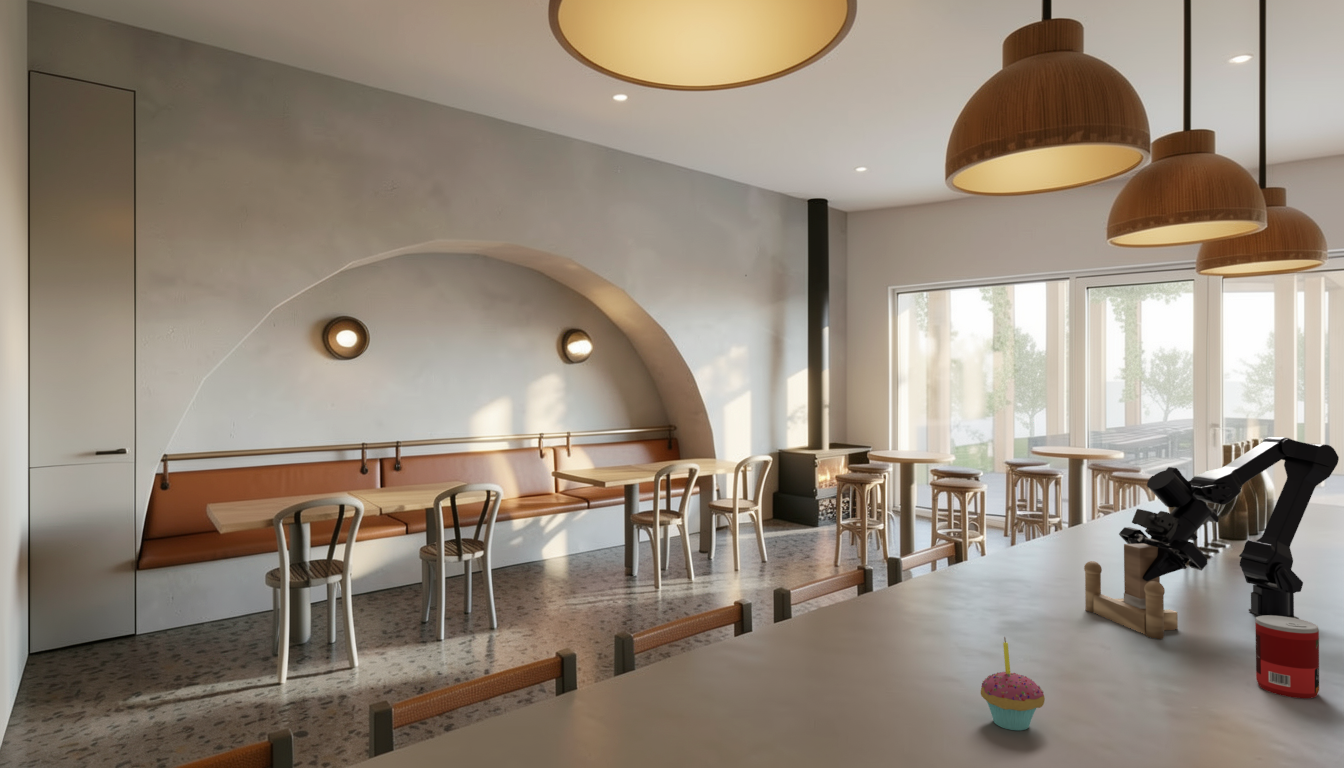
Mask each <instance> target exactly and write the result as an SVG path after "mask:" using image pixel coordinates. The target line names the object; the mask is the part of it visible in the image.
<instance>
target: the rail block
mask: <svg viewBox="0 0 1344 768" xmlns="http://www.w3.org/2000/svg"><path fill="white" fill-rule="evenodd" d="M1157 555H1158V547H1155V546H1151V545H1147V544H1144V543H1141V544H1127V543H1124V544H1123V567H1124V568H1123V569H1124V571H1123V573H1124V575H1123V576H1124V581H1123V582H1124V588H1123V589H1124V593H1123V598H1124V603H1126V604H1129V605H1131V606H1134V607H1137V608H1139V609H1142V610H1145V611H1146V593H1145V590H1144V587H1145V585H1146V584H1147V583H1148V582H1150V581H1156V582H1159V583H1160V584H1161V582H1160V581H1161V580H1160V578H1161V576H1160V577H1157V578H1154V579H1152V580H1149V581H1145V580H1144V579H1143V576H1144V574H1145V572H1146V571H1147V570H1148V568H1149V567H1150V565H1151V564H1152V563H1153V561H1154V560H1155V559H1156V557H1157Z"/></svg>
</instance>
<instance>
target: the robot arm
mask: <svg viewBox="0 0 1344 768" xmlns="http://www.w3.org/2000/svg"><path fill="white" fill-rule="evenodd" d="M1281 460H1283V461H1284V463H1283V466H1284V470H1285V473H1286V480H1285V483H1284V485H1283V487H1282V489H1281V492H1280V495H1279V496H1278V499H1277V500H1276V503H1275V506H1274V508H1273V511H1272V512H1271V514H1270V517H1269V520H1268V521H1267V524H1266V525H1265V526H1266V527H1265V529H1264V531H1263V532H1262V535H1261V537H1260V538H1258V539H1256V540H1255V541H1254V540H1250V539H1248V540H1246V541H1245V543H1244V546H1243V550H1242V552H1241V553H1240V554H1239V555H1238V557H1240V560H1239V567H1240V568H1241V571H1242V573H1243V576H1244V578H1245V582H1246V583H1247V584H1252V591H1251V592H1250V608H1248V612H1249V613H1252V614H1254V615H1257V617H1258V616H1265V615H1272V616H1284V617H1291V618H1296V619H1300V618H1299V617H1297V616H1296V615H1295V604H1294V603H1295V601H1294V600H1295V597H1294V596H1295V595H1294V594H1296V593H1301V592H1302V589H1303V586H1304V585H1303V584H1304V582H1303V581H1302V579H1301V578H1300V577H1299V576H1298V575H1297V574H1296V573H1295V572H1294V571H1293V569H1292V568H1293V565H1294V558H1293V554H1292V550H1291V545H1292V543H1293V540H1294V538H1295V536H1296V533H1297V531H1298V528H1299V526H1300V524H1301V521H1302V519H1303V517H1304V514H1305V513H1306V510H1307V507H1308V505H1309V503H1310V501H1311V498H1312V496H1313V493H1314V491H1315V490H1316V487H1317V486H1319V485H1320V484H1321V483H1323V482H1324V481H1325V480H1328V478H1330V476H1331V475H1332V473H1333V471H1334V470H1335V469H1336V467H1337V466H1338V463H1339V455H1338V453H1337V452H1336V450H1335V449H1334V447H1333V446H1332V445H1328V444H1322V443H1306V442H1302V441H1297V440H1295V439H1291V438H1290V437H1280V436H1268V437H1266V438H1264V439H1263V440H1262V442H1261V443H1260V444H1257V445H1256V446H1255V447H1252V448H1251V449H1250V450H1248V451H1247V452H1245V453H1244V454H1242V455H1240V456H1239V457H1237V458H1235V459H1234V460H1232V461H1231V462H1229V463H1227V464H1226V465H1225V466H1222V467H1220V468H1215V469H1210V470H1206V471H1204V472H1201V473H1199V474H1197V475H1194V476H1193V477H1192V478H1191V479H1190V480H1187V478H1186V477H1185V476H1184V475H1183V474H1182V473H1181V471H1180V470H1179V469H1178V468H1177V467H1172V466H1168V467H1167V468H1166V469H1164V470H1163V471H1159V472H1157V473H1156V474H1154V475H1151V476H1150V477H1149V479H1148V480H1147V482H1146V484H1147V485H1146V488H1148V489H1149V490H1150V491H1151V492H1152V493H1153V494H1154V495H1155V497H1156V498H1158V499H1159V501H1160V502H1162V505H1164V506H1166V508H1173V509H1172V510H1171V512H1168V511H1162V510H1160V511H1159V512H1153V511H1149V510H1145V509H1141V508H1137V509H1136V511H1135V513H1134V515H1133V518H1132V521H1131V523H1132V524H1133V525H1138V526H1140V527H1142V528H1145V529H1144V532H1145V533H1146V534H1147V535H1148V536H1150V538H1149V537H1148V536H1147V535H1146V534H1145V533H1144V532H1143V531H1142V530H1141V529H1138V528H1134V527H1130V526H1129V527H1125V526H1124V527H1123V529H1121V530H1120V531H1119V533H1118V535H1119V537H1121V539H1122V540H1123V541H1124V542H1125V544H1141V543H1144V544H1147V545H1151V546H1155V547H1158V555H1157V557H1156V559H1155V560H1154V561H1153V563H1152V564H1151V565H1150V567H1149V568H1148V570H1147V571H1146V572H1145V574H1144V576H1143V579H1144V580H1145V581H1149V580H1152V579H1154V578H1157V577H1160V578H1161V577H1162V576H1165V575H1167V574H1170V573H1174V572H1176V571H1181V570H1187V568H1188V567H1190V568H1191V569H1195V570H1198V571H1203V570H1204V569H1205V568H1206V566H1207V565H1208V556H1207V555H1205V553H1203V551H1202V550H1201V549H1200V548H1199V547H1198V546H1197V545H1196V544H1195V543H1194V542H1196V540H1197V539H1198V538H1199V537H1198V536H1197V535H1196V532H1197V531H1198V530H1199V529H1200V528H1201V527H1202V525H1204V524H1205V522H1206V521H1209V522H1214V523H1219V522H1220V521H1219V518H1220V517H1219V515H1218V510H1217V509H1216V508H1212V507H1210V506H1209V505H1208V504H1207V503H1209V504H1216V505H1223V506H1224V505H1227V504H1229V503H1231V502H1232V501H1233V500H1234V499H1235V498H1236V497H1237V496H1239V494H1240V493H1241V492H1242V488H1243V486H1244V485H1246V483H1247V482H1249V481H1251V480H1252V479H1254V478H1255V477H1256V476H1258V475H1259V474H1262V473H1263V472H1264V471H1266V470H1267V469H1269V468H1270V467H1272V466H1274V465H1275V464H1276V463H1279V462H1280V461H1281ZM1192 541H1194V542H1192ZM1187 563H1188V565H1189V566H1188V567H1187Z"/></svg>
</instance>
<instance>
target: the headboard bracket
mask: <svg viewBox="0 0 1344 768" xmlns="http://www.w3.org/2000/svg"><path fill="white" fill-rule="evenodd" d="M1083 569H1084V570H1083V571H1084V576H1085V577H1084V579H1085V580H1084V581H1085V583H1084V584H1085V585H1084V590H1085V591H1084V593H1085V597H1084V598H1085V611H1086V612H1088V611H1089V612H1088V613H1093V612H1094V613H1093V614H1095V613H1096V614H1095V615H1097V614H1098V616H1099V617H1102V618H1104V617H1105V619H1107V620H1109V619H1110V621H1111V620H1112V622H1114V623H1117V624H1118V625H1120V626H1123V625H1124V627H1125V628H1128V629H1130V628H1131V630H1133V629H1134V630H1133V631H1135V630H1136V632H1138V633H1140V632H1141V634H1142V633H1143V634H1142V635H1145V636H1146V637H1147V636H1148V637H1147V638H1149V637H1151V638H1150V639H1153V638H1157V639H1156V640H1163V638H1164V639H1165V631H1173V630H1175V629H1177V630H1178V627H1179V626H1178V624H1179V620H1178V612H1177V611H1174V610H1172V609H1171V608H1170V609H1164V607H1165V604H1164V602H1165V601H1164V597H1165V596H1164V595H1165V591H1166V590H1165V587H1164V585H1163V584H1162V583H1161V582H1160V583H1159V582H1156V581H1150V582H1148V583H1147V584H1146V585H1145V587H1144V590H1145V593H1146V611H1145V610H1142V609H1139V608H1137V607H1134V606H1131V605H1129V604H1126V603H1124V597H1123V598H1121V597H1120V598H1113V597H1109V596H1108V595H1105V594H1102V590H1101V589H1102V584H1101V583H1102V571H1103V570H1102V569H1103V568H1102V566H1101V565H1100V563H1099V562H1098V561H1093V560H1089V561H1087V562H1086V563H1085V564H1084V567H1083ZM1177 630H1176V631H1177Z"/></svg>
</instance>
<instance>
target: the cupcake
mask: <svg viewBox="0 0 1344 768" xmlns="http://www.w3.org/2000/svg"><path fill="white" fill-rule="evenodd" d="M1003 641H1004V642H1003V643H1002V644H1003V645H1002V647H1003V657H1004V669H1005V671H1002V672H996V673H992V674H990V675H987V677H986V678H984V679H983V680H982V683H981V689H980V695H981V697H982V699H984V700H985V701H986V703H987V705H988V707H989V711H990V714H991V717H992V721H993V723H994V724H995V725H996V726H998V727H1001V728H1002V729H1006V730H1010V731H1025V730H1027V729H1029V727H1030V725H1031V722H1032V719H1033V717H1034V714H1035V712H1036V710H1037V709H1040V708H1042V707H1043V706H1044V704H1045V699H1046V698H1045V694H1044V690H1042V688H1041V686H1040V685H1038V684H1037V683H1036V682H1035V681H1034V680H1033V679H1031V678H1029V677H1027V676H1026V675H1025V676H1024V675H1022V674H1018V673H1017V672H1011V664H1010V654H1009V653H1010V652H1009V643H1008V642H1007V638H1006V636H1004V637H1003Z"/></svg>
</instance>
